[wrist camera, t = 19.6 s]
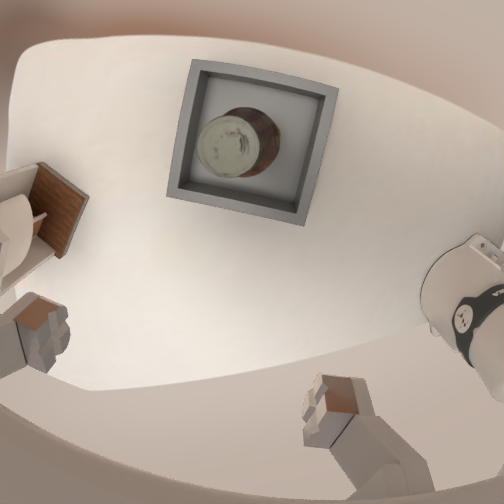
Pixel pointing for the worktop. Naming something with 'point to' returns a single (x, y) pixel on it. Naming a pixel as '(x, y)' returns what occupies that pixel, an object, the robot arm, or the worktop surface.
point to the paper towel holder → (35, 220)
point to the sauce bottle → (239, 143)
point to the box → (286, 118)
